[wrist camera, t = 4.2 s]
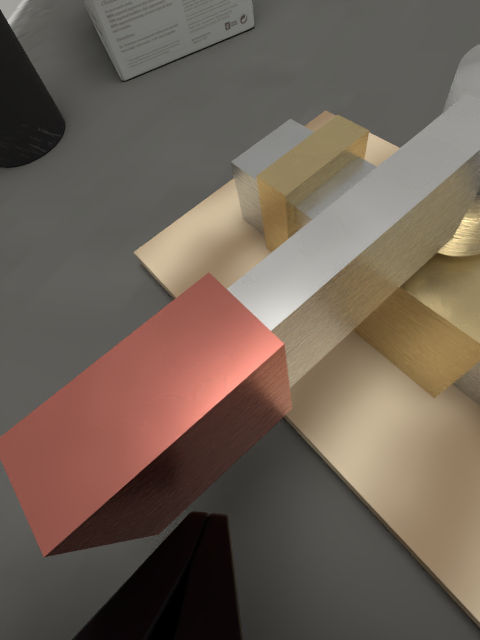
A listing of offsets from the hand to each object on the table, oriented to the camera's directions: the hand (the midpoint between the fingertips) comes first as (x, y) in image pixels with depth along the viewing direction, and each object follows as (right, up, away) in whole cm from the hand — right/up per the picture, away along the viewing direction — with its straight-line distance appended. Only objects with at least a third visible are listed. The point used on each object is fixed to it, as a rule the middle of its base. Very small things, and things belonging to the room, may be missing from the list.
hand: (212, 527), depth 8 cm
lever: (+4, +4, +3) cm, 6 cm away
